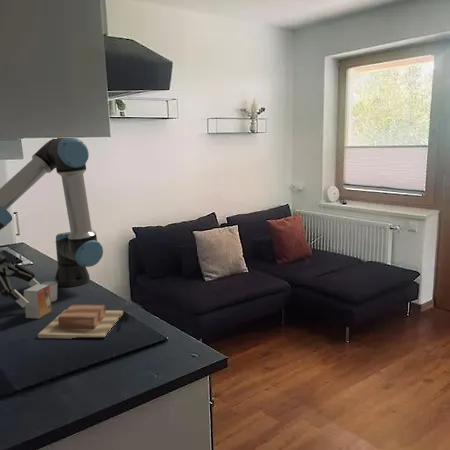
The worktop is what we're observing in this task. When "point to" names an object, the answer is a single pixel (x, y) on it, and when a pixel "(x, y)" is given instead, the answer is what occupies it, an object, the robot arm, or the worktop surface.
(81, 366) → the worktop surface
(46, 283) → the shot glass
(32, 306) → the small box
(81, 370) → the worktop surface
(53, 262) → the worktop surface
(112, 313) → the tower base
